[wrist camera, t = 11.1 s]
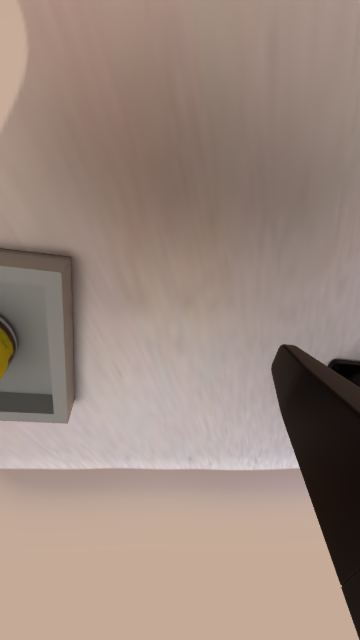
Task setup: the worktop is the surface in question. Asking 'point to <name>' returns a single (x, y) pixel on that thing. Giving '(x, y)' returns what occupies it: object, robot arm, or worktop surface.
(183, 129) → the worktop surface
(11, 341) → the supplement bottle
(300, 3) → the worktop surface
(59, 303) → the tray
